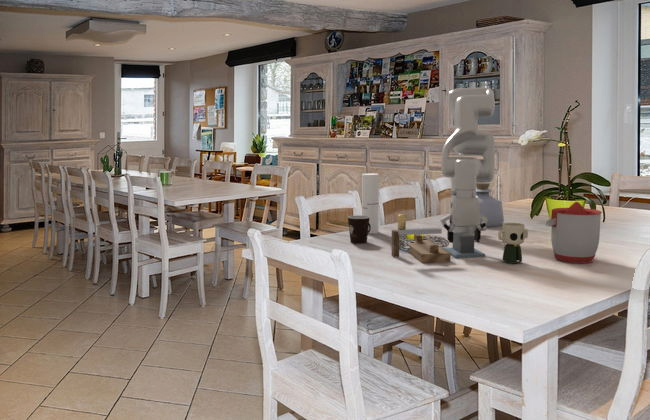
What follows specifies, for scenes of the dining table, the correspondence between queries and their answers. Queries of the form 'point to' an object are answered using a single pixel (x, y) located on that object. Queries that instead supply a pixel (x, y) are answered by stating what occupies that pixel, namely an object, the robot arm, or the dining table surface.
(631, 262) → the dining table surface
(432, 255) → the plane
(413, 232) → the latch
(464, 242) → the dark grey block
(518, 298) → the dining table surface
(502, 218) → the bottle
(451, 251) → the mat
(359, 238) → the coffee mug
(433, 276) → the dining table surface
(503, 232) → the character mug
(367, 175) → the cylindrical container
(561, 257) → the citrus juicer
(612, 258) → the dining table surface
